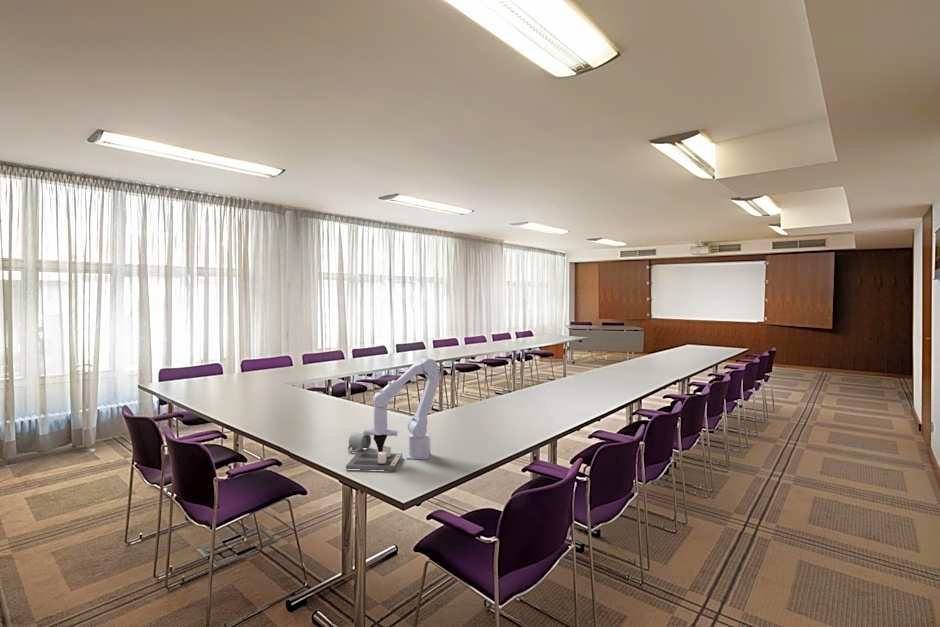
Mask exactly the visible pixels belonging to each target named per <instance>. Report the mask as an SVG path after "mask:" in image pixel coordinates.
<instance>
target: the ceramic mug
mask: <svg viewBox="0 0 940 627" xmlns="http://www.w3.org/2000/svg"><path fill="white" fill-rule="evenodd" d="M371 444H372V435H366V436H363V432H353V433H352V434H351V435H350V436H349V439H348V446H347V451H349V452H356V453H359V451H364V449H363V448H370V447H371ZM351 449H353V450H351ZM349 452H348V453H349Z"/></svg>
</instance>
